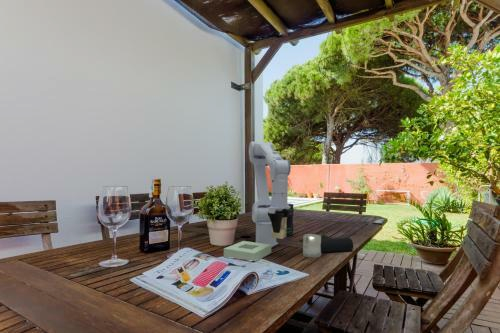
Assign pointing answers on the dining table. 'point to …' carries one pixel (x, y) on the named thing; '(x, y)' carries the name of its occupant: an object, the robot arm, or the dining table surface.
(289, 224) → the storage jar
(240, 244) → the hole plate
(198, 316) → the dining table surface
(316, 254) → the round peg
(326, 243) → the pipe connector
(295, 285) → the dining table surface
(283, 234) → the square peg
